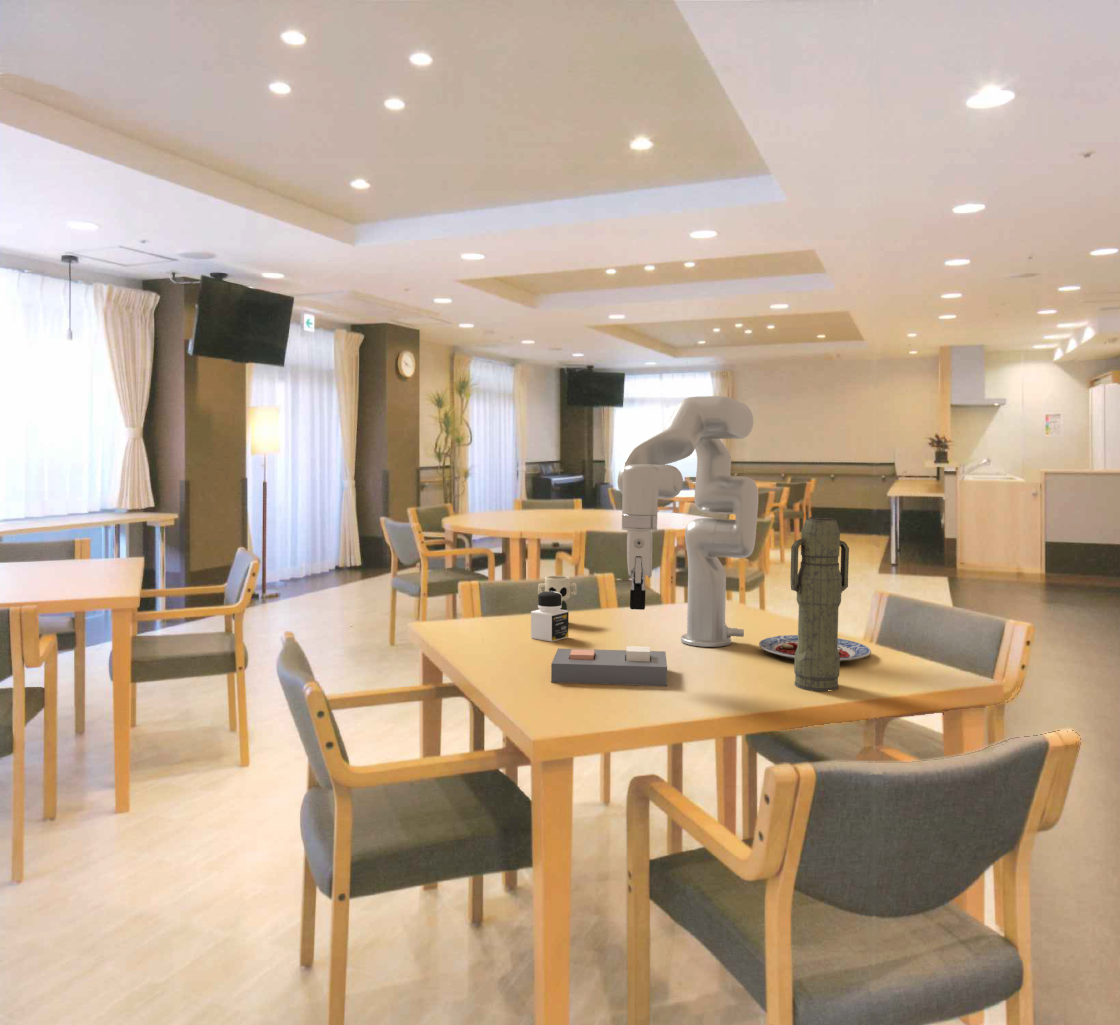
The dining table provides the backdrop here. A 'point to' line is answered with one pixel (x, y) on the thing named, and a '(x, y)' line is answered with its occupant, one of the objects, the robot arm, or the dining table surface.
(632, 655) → the ivory key
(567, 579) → the character mug
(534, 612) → the medicine bottle
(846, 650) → the ceramic plate
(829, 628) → the thermos
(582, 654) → the terracotta key
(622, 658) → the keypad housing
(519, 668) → the dining table surface
